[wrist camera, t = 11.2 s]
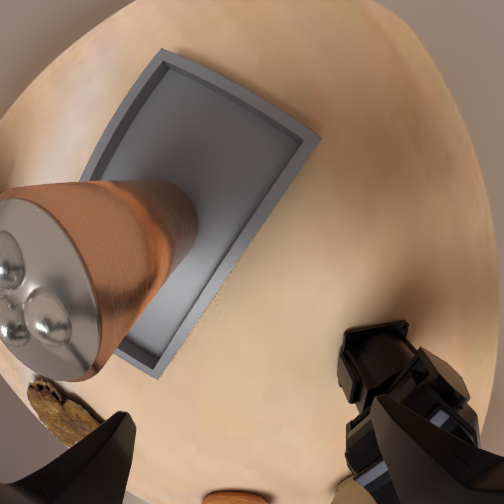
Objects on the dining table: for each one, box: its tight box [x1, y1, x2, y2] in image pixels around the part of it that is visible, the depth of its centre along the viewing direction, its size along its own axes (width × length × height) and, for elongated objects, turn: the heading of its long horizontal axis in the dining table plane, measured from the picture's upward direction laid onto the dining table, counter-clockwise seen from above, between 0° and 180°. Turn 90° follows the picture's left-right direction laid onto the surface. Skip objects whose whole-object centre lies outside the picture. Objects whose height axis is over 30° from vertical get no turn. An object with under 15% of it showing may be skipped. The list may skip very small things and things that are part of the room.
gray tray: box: [79, 48, 321, 380], centre depth 18 cm, size 13×22×2 cm, turn 146°
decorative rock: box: [27, 378, 101, 448], centre depth 24 cm, size 11×4×15 cm
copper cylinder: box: [0, 180, 198, 382], centre depth 12 cm, size 6×6×14 cm
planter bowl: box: [331, 475, 377, 504], centre depth 25 cm, size 16×16×11 cm
